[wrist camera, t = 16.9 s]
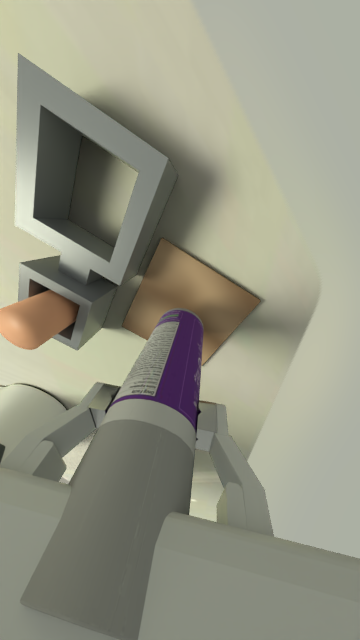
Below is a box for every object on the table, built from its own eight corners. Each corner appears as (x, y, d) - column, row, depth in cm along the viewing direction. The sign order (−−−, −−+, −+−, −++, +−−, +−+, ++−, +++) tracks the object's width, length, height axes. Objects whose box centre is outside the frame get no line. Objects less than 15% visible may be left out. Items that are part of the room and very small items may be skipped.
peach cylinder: (91, 316, 22) (38, 356, 15) (63, 301, 22) (-6, 335, 15) (99, 291, 20) (42, 324, 13) (68, 274, 20) (-8, 299, 13)
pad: (199, 365, 24) (199, 368, 24) (123, 324, 23) (121, 326, 22) (259, 299, 18) (260, 301, 18) (162, 237, 17) (161, 238, 16)
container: (210, 339, 17) (211, 665, 4) (171, 351, 19) (86, 618, 6) (191, 300, 16) (101, 639, 3) (150, 317, 17) (-33, 583, 4)
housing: (111, 333, 24) (89, 356, 19) (43, 296, 23) (3, 313, 18) (178, 174, 14) (165, 152, 10) (68, 98, 13) (-1, 35, 9)
